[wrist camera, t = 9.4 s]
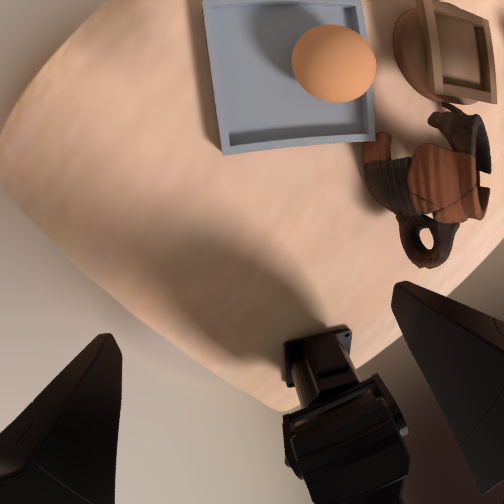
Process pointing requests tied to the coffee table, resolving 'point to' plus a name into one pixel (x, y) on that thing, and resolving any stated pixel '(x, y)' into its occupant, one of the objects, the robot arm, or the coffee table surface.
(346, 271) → the coffee table surface
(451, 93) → the open wooden box
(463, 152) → the pottery mug
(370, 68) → the ball
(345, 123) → the tray
